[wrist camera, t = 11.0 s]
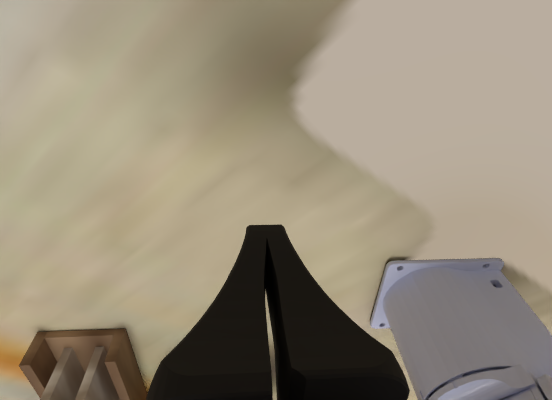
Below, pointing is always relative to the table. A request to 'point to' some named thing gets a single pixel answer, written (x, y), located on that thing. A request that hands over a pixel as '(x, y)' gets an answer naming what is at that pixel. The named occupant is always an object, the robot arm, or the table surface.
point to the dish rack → (83, 366)
